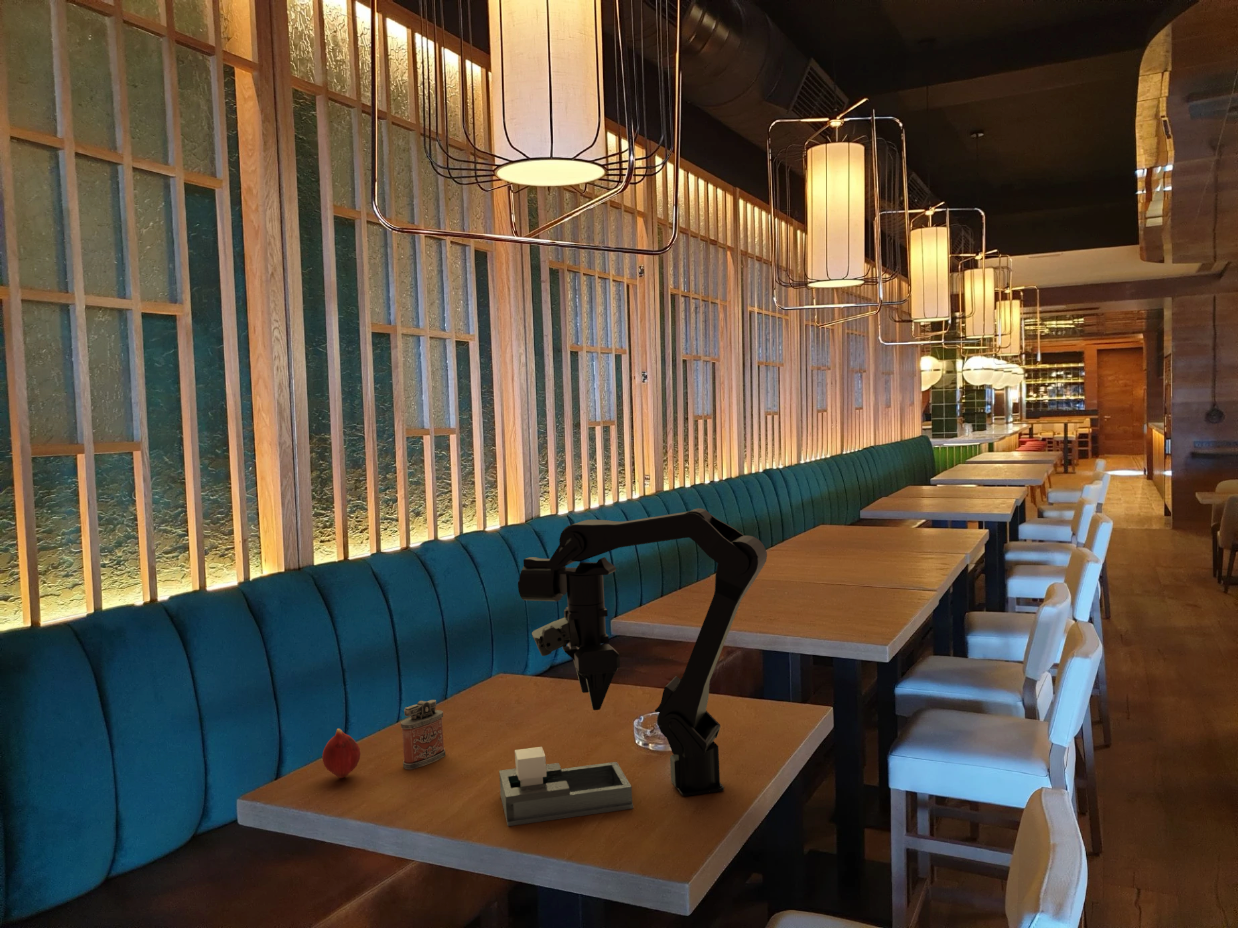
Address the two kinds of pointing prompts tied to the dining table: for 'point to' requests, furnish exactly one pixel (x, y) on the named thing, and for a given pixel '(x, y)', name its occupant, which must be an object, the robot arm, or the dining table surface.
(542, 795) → the keyhole guide
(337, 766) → the onion
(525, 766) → the slider
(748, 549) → the robot arm
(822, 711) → the dining table surface
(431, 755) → the lighter
